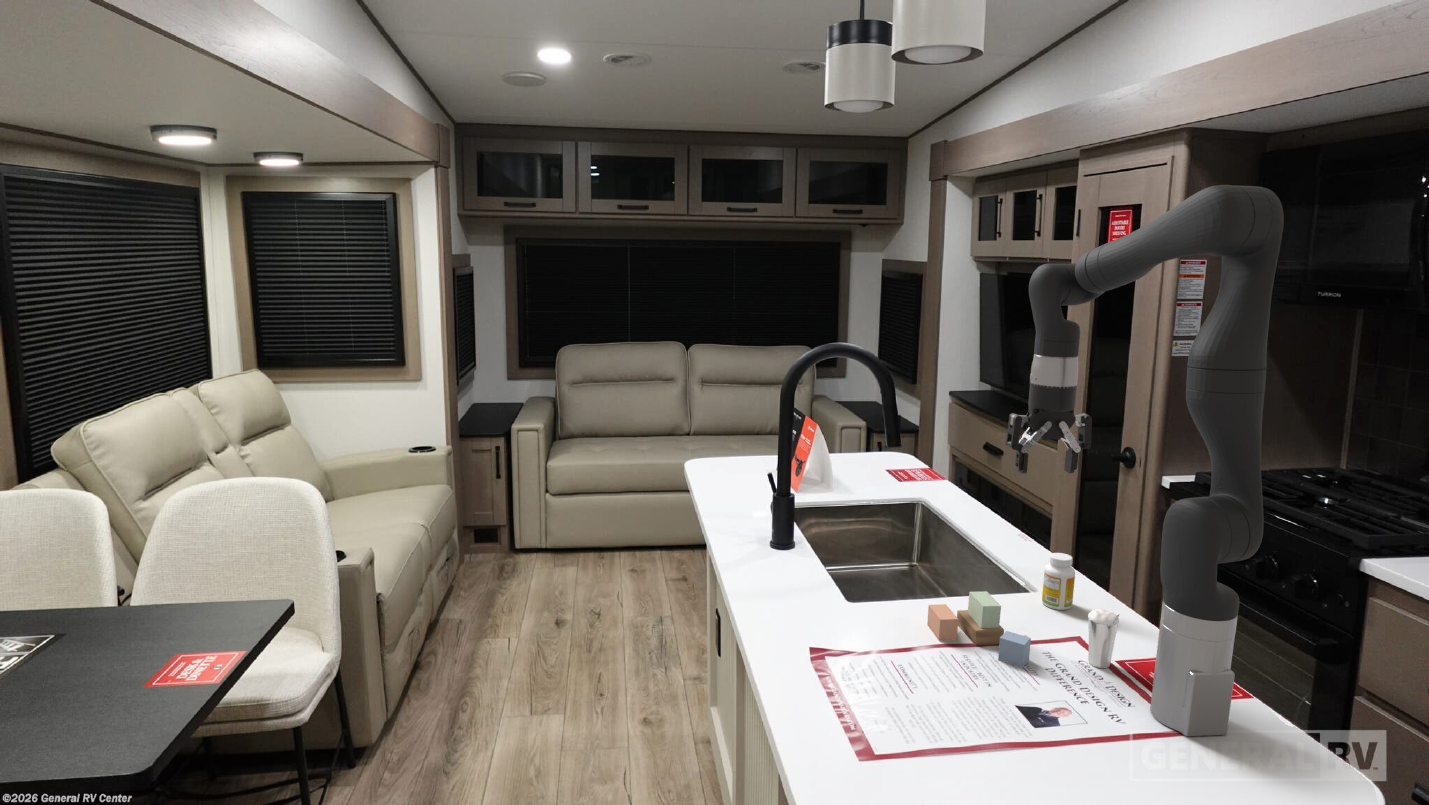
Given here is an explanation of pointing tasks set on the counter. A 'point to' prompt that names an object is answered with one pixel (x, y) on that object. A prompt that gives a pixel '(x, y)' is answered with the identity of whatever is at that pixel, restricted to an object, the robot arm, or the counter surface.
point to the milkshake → (1101, 636)
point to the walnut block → (978, 630)
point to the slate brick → (1014, 649)
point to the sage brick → (984, 609)
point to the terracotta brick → (942, 622)
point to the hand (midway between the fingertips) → (1045, 472)
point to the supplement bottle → (1058, 582)
